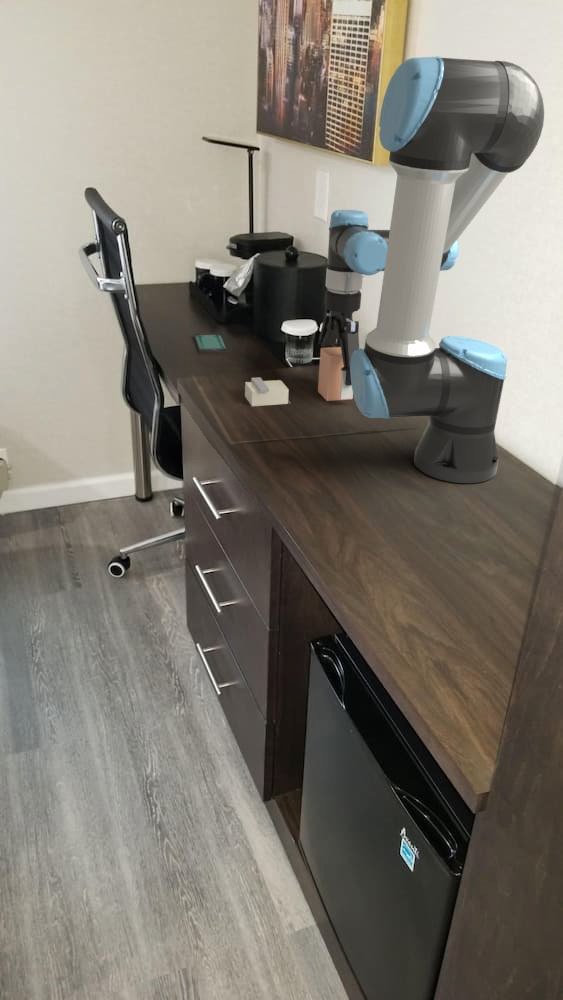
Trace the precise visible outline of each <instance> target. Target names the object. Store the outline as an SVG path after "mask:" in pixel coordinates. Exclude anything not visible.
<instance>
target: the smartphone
mask: <svg viewBox="0 0 563 1000" xmlns="http://www.w3.org/2000/svg"><path fill="white" fill-rule="evenodd" d="M193 338H194V341H195V343H196V344H195V345H196V346H197V347H196V348H197V350H198V352H199V354H201V355H210V354H211V355H212V354H213V355H215V354H217V355H218V354H228V349H227V346H226V343H225V341H224V339H223V337H222V335H221V334H220V333H205V334H204V333H203V334H202V333H201V334H198V333H197V334H193Z"/></svg>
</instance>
